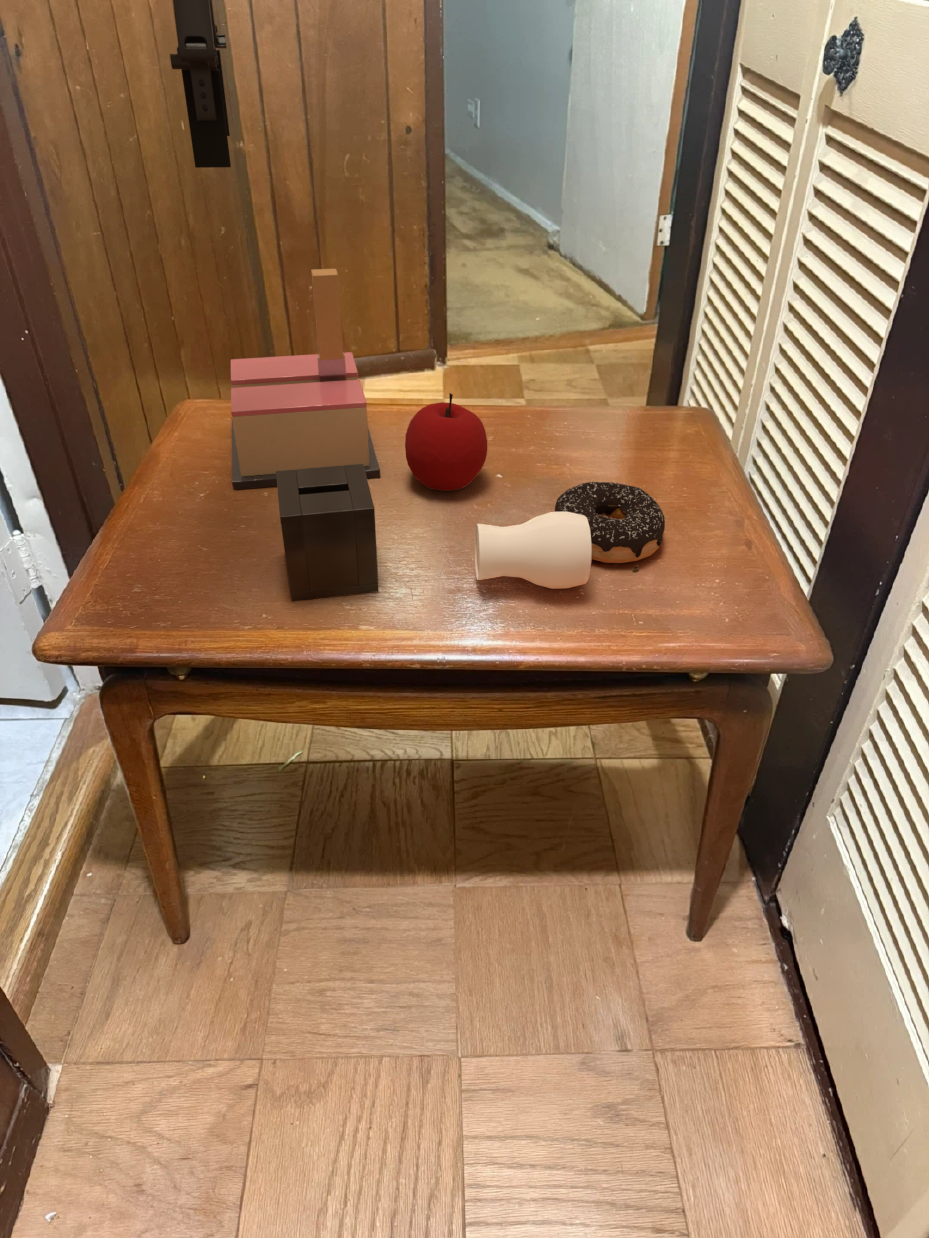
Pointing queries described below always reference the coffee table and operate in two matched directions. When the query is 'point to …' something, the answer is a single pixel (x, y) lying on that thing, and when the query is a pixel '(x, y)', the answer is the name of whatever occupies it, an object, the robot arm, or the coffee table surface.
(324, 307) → the knife
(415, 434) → the apple
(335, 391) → the cake
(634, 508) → the donut
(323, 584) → the knife block
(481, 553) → the cream ceramic vase
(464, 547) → the coffee table surface
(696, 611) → the coffee table surface
